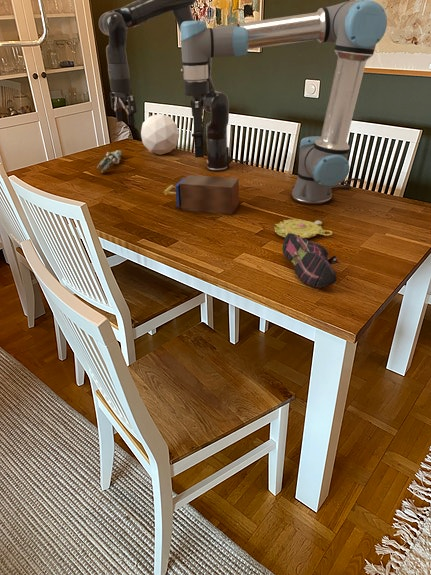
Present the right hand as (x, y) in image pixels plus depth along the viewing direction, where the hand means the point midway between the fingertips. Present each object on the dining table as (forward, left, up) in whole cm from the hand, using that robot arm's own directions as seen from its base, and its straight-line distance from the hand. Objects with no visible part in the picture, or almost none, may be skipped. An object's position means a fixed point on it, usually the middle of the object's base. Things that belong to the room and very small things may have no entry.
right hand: (199, 151), depth 145 cm
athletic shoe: (-25, +44, -24) cm, 56 cm away
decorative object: (-30, +19, -24) cm, 43 cm away
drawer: (0, -12, -23) cm, 26 cm away
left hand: (+23, -36, +3) cm, 43 cm away
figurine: (+34, -74, -24) cm, 84 cm away
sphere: (+8, -88, -24) cm, 92 cm away
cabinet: (-4, -10, -24) cm, 26 cm away
